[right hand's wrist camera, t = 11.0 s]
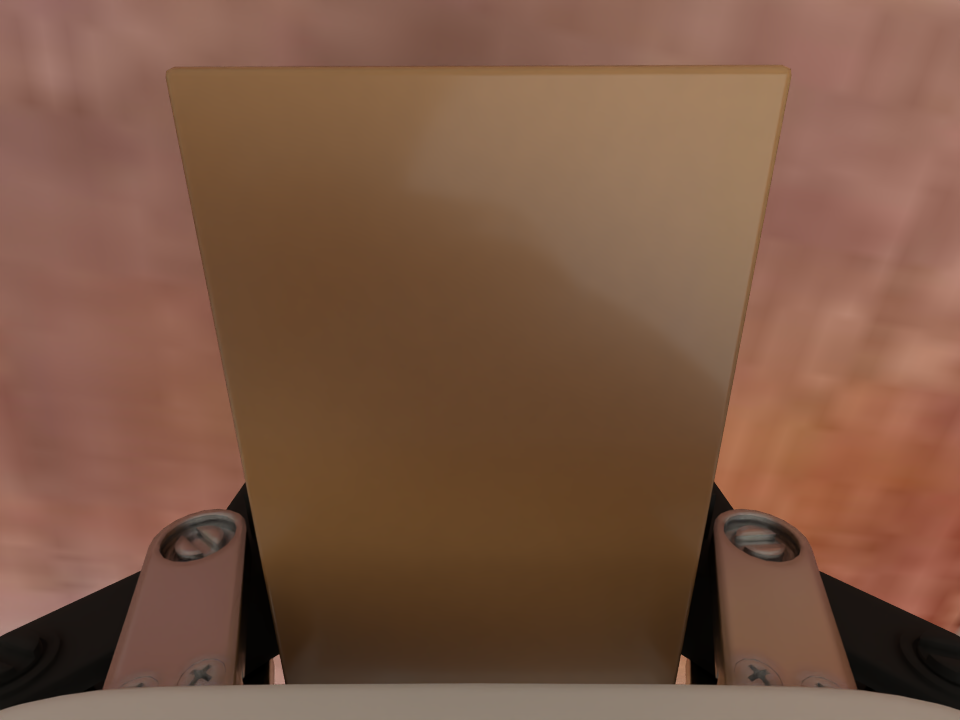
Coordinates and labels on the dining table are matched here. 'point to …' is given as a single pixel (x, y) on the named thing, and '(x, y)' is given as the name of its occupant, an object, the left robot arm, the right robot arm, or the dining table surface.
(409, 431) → the bar
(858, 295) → the dining table surface
